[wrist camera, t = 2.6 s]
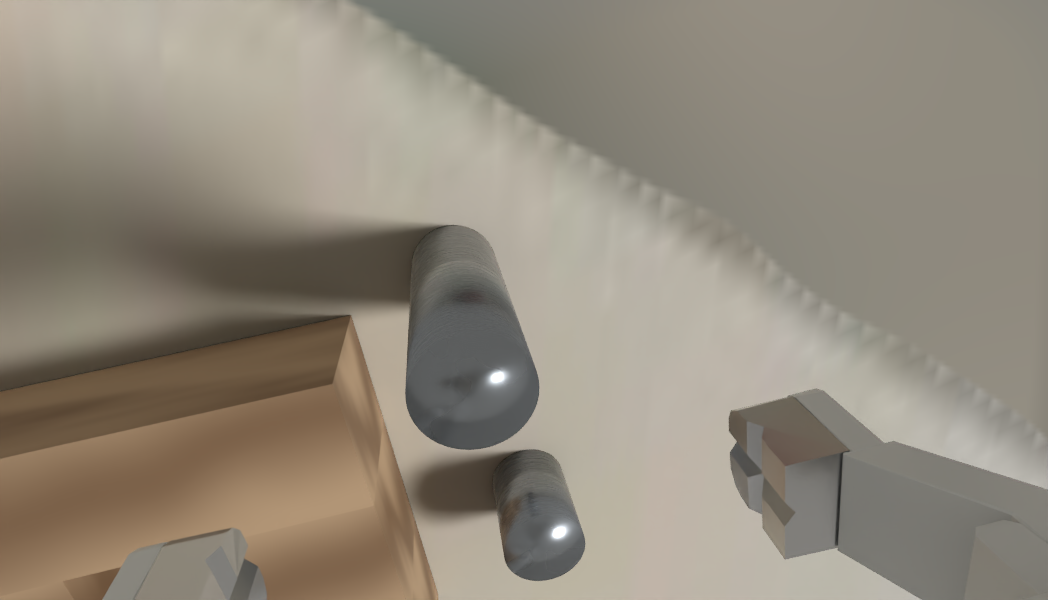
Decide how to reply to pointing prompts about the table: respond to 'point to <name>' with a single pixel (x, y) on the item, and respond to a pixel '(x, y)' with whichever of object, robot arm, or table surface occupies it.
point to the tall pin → (465, 345)
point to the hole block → (211, 470)
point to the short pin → (536, 516)
